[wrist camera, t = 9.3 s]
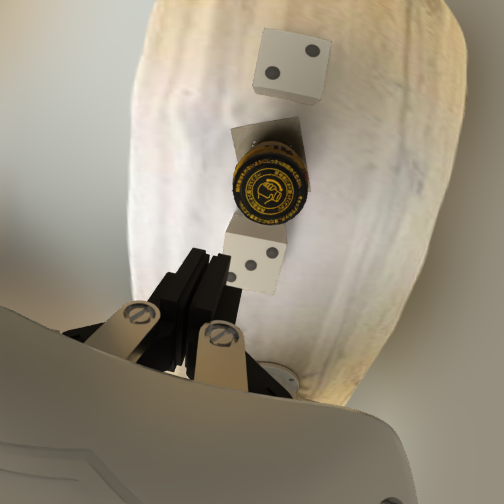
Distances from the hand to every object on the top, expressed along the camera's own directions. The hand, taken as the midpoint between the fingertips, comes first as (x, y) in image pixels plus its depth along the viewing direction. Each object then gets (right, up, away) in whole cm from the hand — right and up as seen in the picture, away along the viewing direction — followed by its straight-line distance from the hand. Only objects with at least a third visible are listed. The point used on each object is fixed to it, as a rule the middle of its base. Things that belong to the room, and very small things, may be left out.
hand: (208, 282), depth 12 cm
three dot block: (+2, +3, +21) cm, 22 cm away
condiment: (+4, +11, +17) cm, 21 cm away
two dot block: (+6, +20, +13) cm, 24 cm away
